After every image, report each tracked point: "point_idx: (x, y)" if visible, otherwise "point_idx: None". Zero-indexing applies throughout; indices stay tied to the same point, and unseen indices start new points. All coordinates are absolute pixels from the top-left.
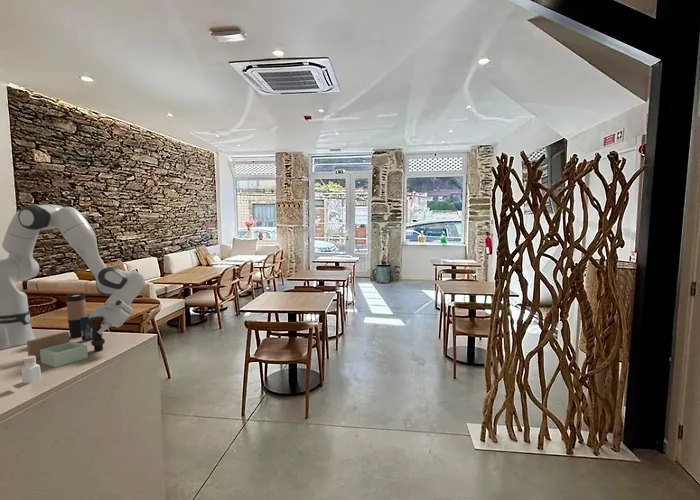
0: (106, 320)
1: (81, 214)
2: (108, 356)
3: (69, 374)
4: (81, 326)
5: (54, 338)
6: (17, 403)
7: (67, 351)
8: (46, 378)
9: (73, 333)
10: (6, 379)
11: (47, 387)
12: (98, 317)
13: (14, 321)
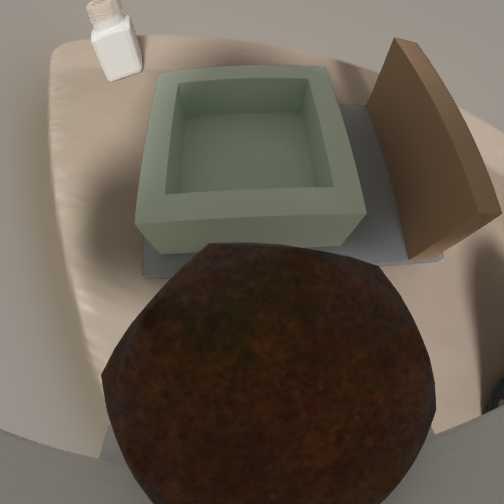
0: (71, 475)
1: None
2: None
3: (79, 145)
4: None
5: (436, 136)
6: (55, 53)
7: (150, 119)
8: (125, 95)
9: None
10: (248, 42)
11: (60, 91)
12: (243, 467)
13: None
